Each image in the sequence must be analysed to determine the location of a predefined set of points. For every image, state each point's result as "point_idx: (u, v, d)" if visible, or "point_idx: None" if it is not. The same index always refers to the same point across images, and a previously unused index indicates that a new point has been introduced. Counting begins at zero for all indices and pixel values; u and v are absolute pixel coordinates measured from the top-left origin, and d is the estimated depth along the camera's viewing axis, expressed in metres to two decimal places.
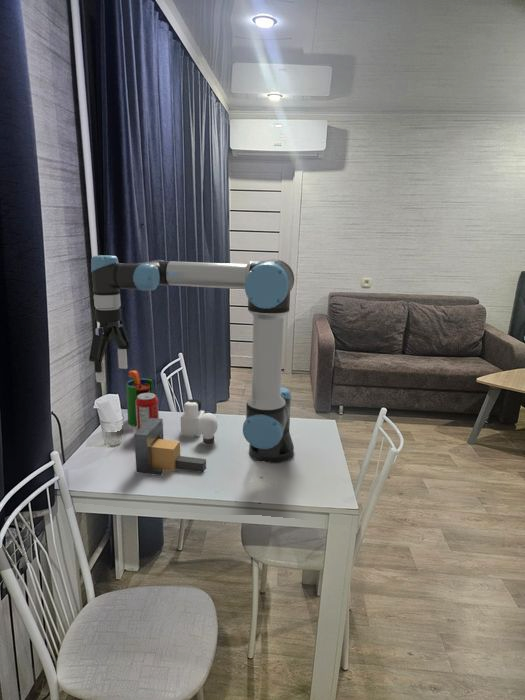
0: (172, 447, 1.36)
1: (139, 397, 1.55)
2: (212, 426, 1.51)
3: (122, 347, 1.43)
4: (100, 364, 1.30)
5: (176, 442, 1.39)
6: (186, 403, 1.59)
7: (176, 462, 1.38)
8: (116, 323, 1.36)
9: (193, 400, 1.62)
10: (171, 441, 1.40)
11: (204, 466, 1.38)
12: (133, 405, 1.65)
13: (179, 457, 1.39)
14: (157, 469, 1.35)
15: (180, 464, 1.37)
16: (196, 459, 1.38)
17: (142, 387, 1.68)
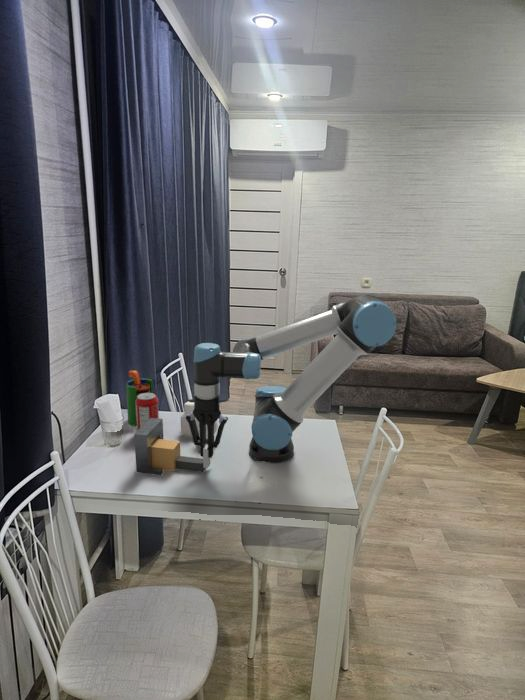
0: (172, 447, 1.36)
1: (139, 397, 1.55)
2: None
3: None
4: (202, 449, 1.36)
5: (176, 442, 1.39)
6: (186, 403, 1.59)
7: (176, 462, 1.38)
8: (215, 413, 1.31)
9: (193, 400, 1.62)
10: (171, 441, 1.40)
11: None
12: (133, 405, 1.65)
13: (179, 457, 1.39)
14: (157, 469, 1.35)
15: (180, 464, 1.37)
16: (196, 459, 1.38)
17: (142, 387, 1.68)
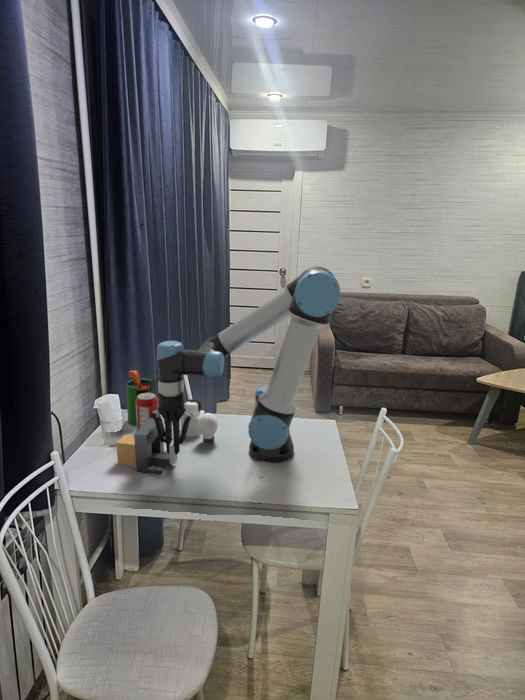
0: None
1: (139, 397, 1.55)
2: (212, 426, 1.51)
3: None
4: (168, 446, 1.37)
5: None
6: (186, 403, 1.59)
7: None
8: (179, 409, 1.33)
9: (193, 400, 1.62)
10: None
11: None
12: (133, 405, 1.65)
13: None
14: (157, 469, 1.35)
15: None
16: (163, 455, 1.40)
17: (142, 387, 1.68)
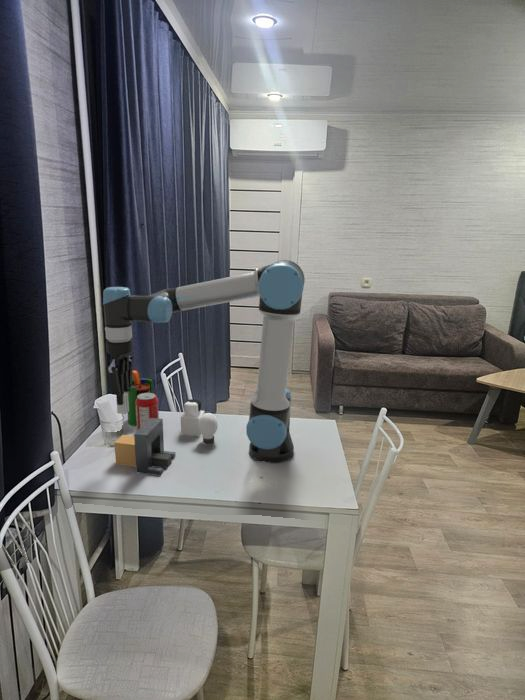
0: None
1: (139, 397, 1.55)
2: (212, 426, 1.51)
3: (123, 390, 1.37)
4: (122, 397, 1.35)
5: None
6: (186, 403, 1.59)
7: None
8: (128, 353, 1.36)
9: (193, 400, 1.62)
10: None
11: (169, 462, 1.40)
12: (133, 405, 1.65)
13: None
14: (157, 469, 1.35)
15: None
16: (161, 455, 1.40)
17: (142, 387, 1.68)
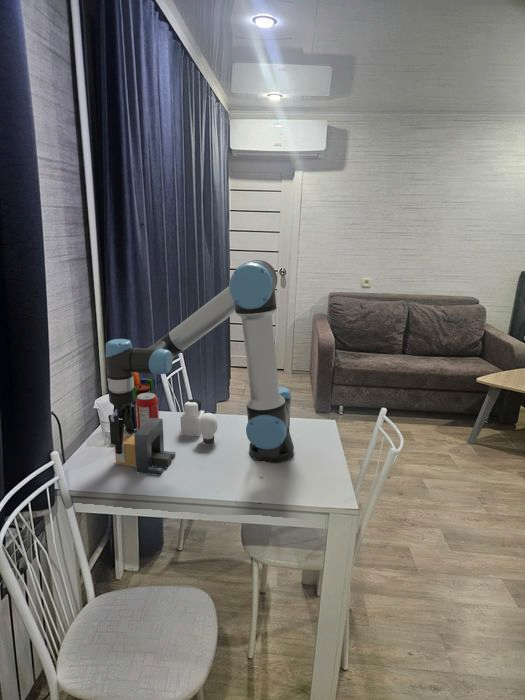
0: None
1: (139, 397, 1.55)
2: (212, 426, 1.51)
3: (129, 432, 1.44)
4: (121, 446, 1.37)
5: None
6: (186, 403, 1.59)
7: None
8: None
9: (193, 400, 1.62)
10: None
11: (169, 462, 1.40)
12: None
13: None
14: (157, 469, 1.35)
15: None
16: (161, 455, 1.40)
17: (142, 387, 1.68)
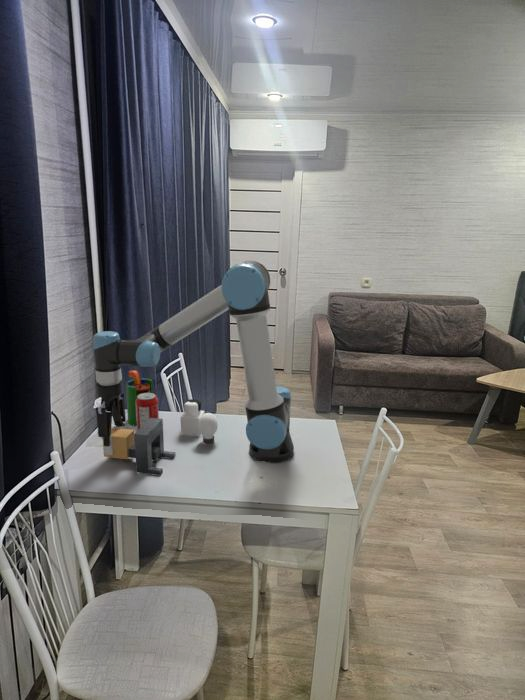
0: (125, 435, 1.38)
1: (139, 397, 1.55)
2: (212, 426, 1.51)
3: (118, 425, 1.44)
4: (108, 438, 1.37)
5: (130, 431, 1.42)
6: (186, 403, 1.59)
7: (129, 450, 1.40)
8: None
9: (193, 400, 1.62)
10: (125, 430, 1.42)
11: (157, 454, 1.40)
12: (133, 405, 1.65)
13: (133, 446, 1.41)
14: (157, 469, 1.35)
15: (134, 452, 1.40)
16: None
17: (142, 387, 1.68)
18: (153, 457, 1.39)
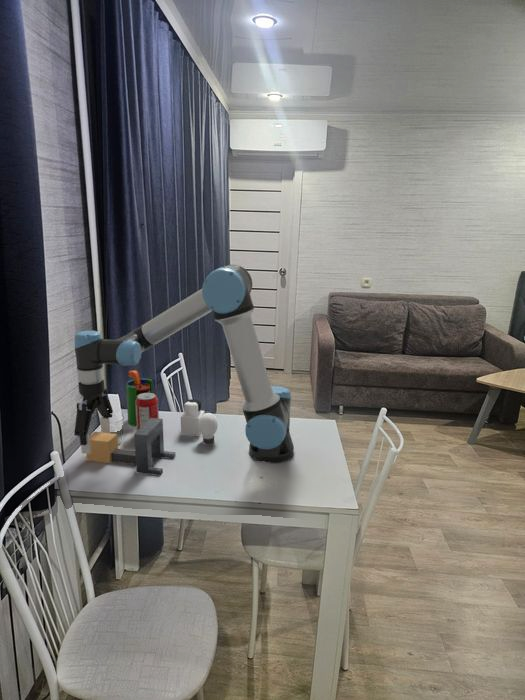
0: (108, 440, 1.40)
1: (139, 397, 1.55)
2: (212, 426, 1.51)
3: (105, 416, 1.47)
4: (85, 437, 1.35)
5: (113, 435, 1.43)
6: (186, 403, 1.59)
7: (112, 454, 1.41)
8: (100, 393, 1.41)
9: (193, 400, 1.62)
10: (108, 434, 1.44)
11: None
12: (133, 405, 1.65)
13: (116, 450, 1.43)
14: (157, 469, 1.35)
15: (116, 456, 1.41)
16: (132, 452, 1.42)
17: (142, 387, 1.68)
18: (135, 461, 1.40)
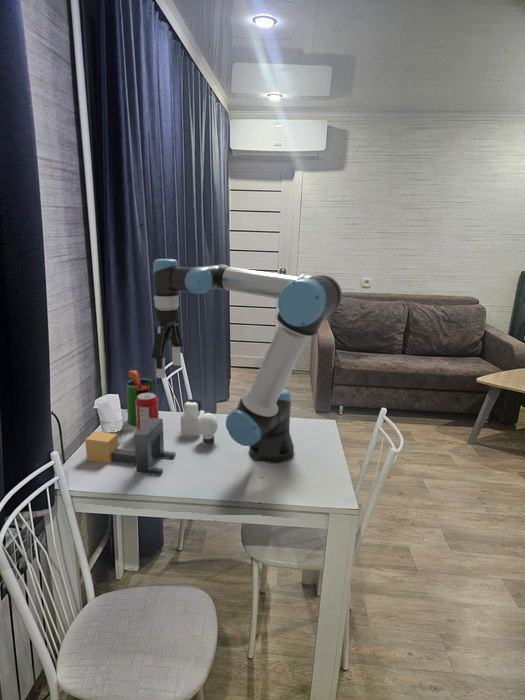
0: (108, 440, 1.40)
1: (139, 397, 1.55)
2: (212, 426, 1.51)
3: (176, 345, 1.52)
4: (161, 361, 1.38)
5: (113, 435, 1.43)
6: (186, 403, 1.59)
7: (112, 454, 1.41)
8: (173, 322, 1.45)
9: (193, 400, 1.62)
10: (108, 434, 1.44)
11: None
12: (133, 405, 1.65)
13: (116, 450, 1.43)
14: (157, 469, 1.35)
15: (116, 456, 1.41)
16: (132, 452, 1.42)
17: (142, 387, 1.68)
18: (135, 461, 1.40)
